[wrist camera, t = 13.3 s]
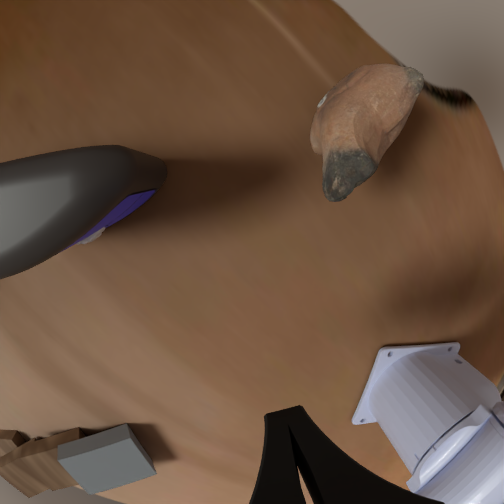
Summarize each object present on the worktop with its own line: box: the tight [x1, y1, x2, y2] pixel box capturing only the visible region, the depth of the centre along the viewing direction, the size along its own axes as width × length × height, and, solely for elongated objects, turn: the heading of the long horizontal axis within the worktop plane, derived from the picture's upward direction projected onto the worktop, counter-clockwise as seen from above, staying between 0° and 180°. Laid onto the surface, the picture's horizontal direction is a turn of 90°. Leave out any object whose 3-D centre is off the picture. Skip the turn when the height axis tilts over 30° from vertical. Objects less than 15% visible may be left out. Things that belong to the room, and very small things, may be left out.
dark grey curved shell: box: [0, 145, 167, 279], centre depth 12 cm, size 16×5×9 cm, turn 90°
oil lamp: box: [310, 64, 424, 202], centre depth 14 cm, size 9×4×8 cm, turn 144°
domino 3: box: [20, 427, 86, 491], centre depth 19 cm, size 2×5×7 cm
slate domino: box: [57, 423, 157, 495], centre depth 19 cm, size 2×5×7 cm
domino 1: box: [0, 430, 26, 457], centre depth 20 cm, size 2×5×7 cm
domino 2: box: [0, 438, 50, 498], centre depth 19 cm, size 2×5×7 cm
